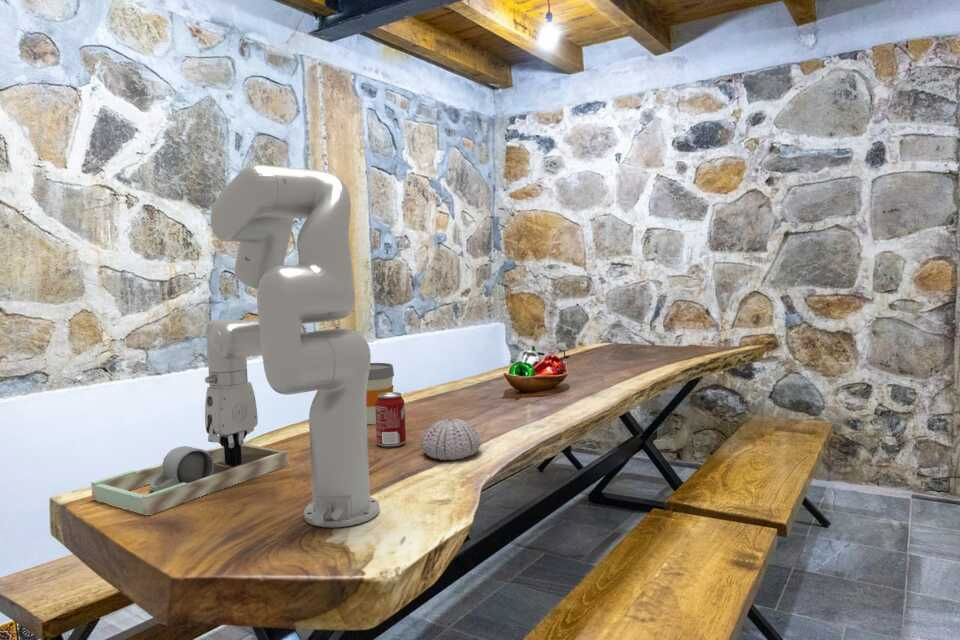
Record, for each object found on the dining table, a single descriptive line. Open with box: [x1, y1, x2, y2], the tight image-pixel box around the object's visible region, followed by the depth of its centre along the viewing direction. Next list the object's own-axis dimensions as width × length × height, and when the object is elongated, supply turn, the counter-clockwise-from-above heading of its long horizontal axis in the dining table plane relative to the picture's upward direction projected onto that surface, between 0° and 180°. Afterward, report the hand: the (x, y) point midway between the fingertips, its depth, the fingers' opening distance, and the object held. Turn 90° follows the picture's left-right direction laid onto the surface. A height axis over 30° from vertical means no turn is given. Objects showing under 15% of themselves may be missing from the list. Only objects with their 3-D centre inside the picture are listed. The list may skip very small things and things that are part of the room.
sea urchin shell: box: [420, 418, 482, 461], centre depth 146 cm, size 13×14×8 cm
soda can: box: [375, 391, 407, 448], centre depth 154 cm, size 7×7×12 cm
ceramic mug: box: [149, 445, 214, 493], centre depth 128 cm, size 11×8×8 cm
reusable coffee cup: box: [366, 362, 395, 425], centre depth 179 cm, size 13×13×15 cm
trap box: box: [91, 443, 290, 515], centre depth 131 cm, size 32×17×3 cm, turn 149°
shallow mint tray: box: [90, 469, 188, 514], centre depth 121 cm, size 8×17×3 cm, turn 59°
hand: (233, 464), depth 139 cm, fingers closed
